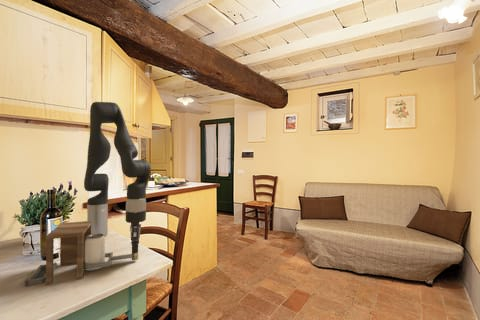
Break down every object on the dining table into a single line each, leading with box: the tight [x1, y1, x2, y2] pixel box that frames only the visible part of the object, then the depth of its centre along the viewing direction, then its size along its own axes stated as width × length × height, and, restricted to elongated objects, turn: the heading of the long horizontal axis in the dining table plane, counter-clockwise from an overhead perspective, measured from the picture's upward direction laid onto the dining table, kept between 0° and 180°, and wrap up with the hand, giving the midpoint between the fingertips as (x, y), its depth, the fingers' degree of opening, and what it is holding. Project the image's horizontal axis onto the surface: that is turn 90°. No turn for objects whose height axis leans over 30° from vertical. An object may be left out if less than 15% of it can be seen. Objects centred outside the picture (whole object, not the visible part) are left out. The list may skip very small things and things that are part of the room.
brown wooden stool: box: [45, 220, 92, 285], centre depth 84 cm, size 16×10×16 cm, turn 23°
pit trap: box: [24, 262, 58, 287], centre depth 80 cm, size 12×5×2 cm, turn 23°
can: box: [85, 234, 106, 272], centre depth 87 cm, size 6×6×12 cm
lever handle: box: [83, 240, 139, 271], centre depth 89 cm, size 9×19×10 cm, turn 113°
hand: (135, 251), depth 92 cm, fingers closed on lever handle, 2 cm apart
